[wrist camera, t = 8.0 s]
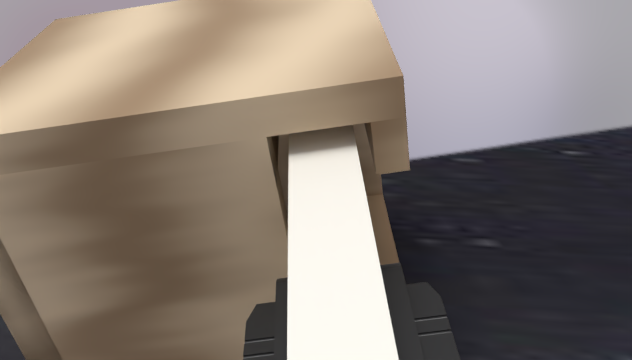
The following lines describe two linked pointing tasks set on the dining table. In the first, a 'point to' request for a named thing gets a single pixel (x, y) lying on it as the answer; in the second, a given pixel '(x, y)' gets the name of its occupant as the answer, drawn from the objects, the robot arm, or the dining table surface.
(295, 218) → the cover plate
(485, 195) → the dining table surface
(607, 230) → the dining table surface
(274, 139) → the box
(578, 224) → the dining table surface
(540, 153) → the dining table surface
